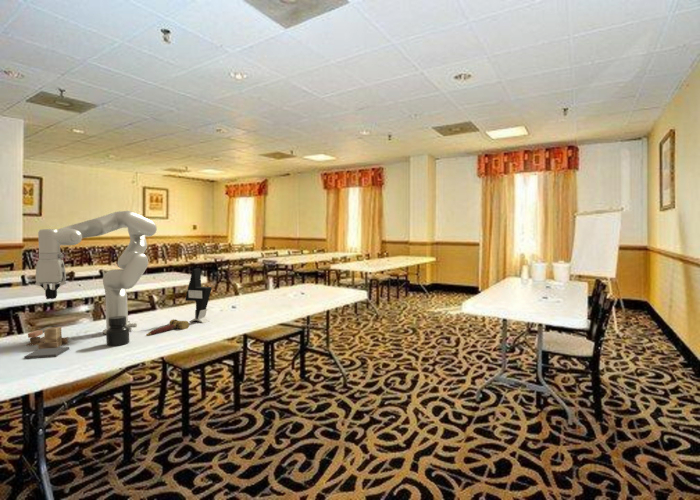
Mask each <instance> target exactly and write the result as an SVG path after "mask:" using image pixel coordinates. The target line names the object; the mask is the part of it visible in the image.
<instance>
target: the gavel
mask: <svg viewBox="0 0 700 500" xmlns="http://www.w3.org/2000/svg"><path fill="white" fill-rule="evenodd" d="M189 323H190V322H189V321H187V320H178V319H174V318H173V319H171V320H169V323H168V325H164V326H162V327H158V328H155V329H153V330H151V331H149V332H148V333H146V336H153V335H158V334H162V333H165V332H167V331H171V330H173V329H180V330H187V329H188V328H189V327H190V324H189Z"/></svg>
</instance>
